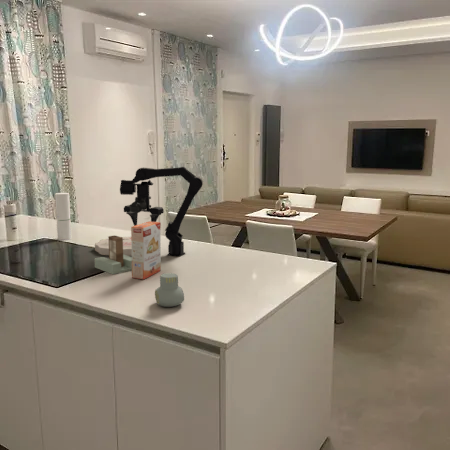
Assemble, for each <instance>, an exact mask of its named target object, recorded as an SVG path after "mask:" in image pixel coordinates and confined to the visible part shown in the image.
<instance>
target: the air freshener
mask: <svg viewBox="0 0 450 450" xmlns="http://www.w3.org/2000/svg"><path fill="white" fill-rule="evenodd" d="M159 283H160V284H159V285H160V286H159V287H158V288H156V289H155V291H154V298H155V302H156V303H157V305H158V306H160V307H165V308H173V307H177V306H179V305H181V304H182V303H184V301H185V292H184V290H183V288H182V287H181V286H179V275H178V274H177V273H173V272H167V273H165V272H164V273H163V274H161V275H160V276H159Z"/></svg>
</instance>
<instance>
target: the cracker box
mask: <svg viewBox="0 0 450 450" xmlns="http://www.w3.org/2000/svg"><path fill="white" fill-rule="evenodd" d="M161 226H162V225H161V222H159V221H156V222H151V220H150V221H146V222H142V223H140V224H137V225H136V226H134V225H132V226H130V227H131V228H130V231H131V232H130V234H131V235H130V237H131V243H132V256H131V257H132V270H131V278H132V279H138V280H139V279H140V280H145V279H146V280H147V278H149V277H152V276H153V275H155V274H157V273H159V272H160V271H161V262H162V261H161V258H162V257H161V248H162V247H161V244H162V243H161V240H162V239H161V237H162V236H161V233H162V232H161Z"/></svg>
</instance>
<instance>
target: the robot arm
mask: <svg viewBox="0 0 450 450" xmlns="http://www.w3.org/2000/svg"><path fill="white" fill-rule="evenodd" d="M179 176H181V177H182V178H183V179H184V180H185V182H187V183H188V185H189V186H188V187H187V188H188V189H187V191H186V192H187V193H186V195H185V197H184V199H183V201H182V203H181V206H180V207H179V209H178V212H177V214H176V216H175V218H174V220H173V221H171V220H169V221H168V223H167V226H166V228H165V230H164V231H165V233H164V235H165V238H166V239H168V247H167V248H168V253H167V256H174V257H181V256H183V255H186V252H185V249H184V248H185V247H184V246H185V245H184V241H183V238H184V235H183V234H182V233H181V232H180V228H181V227H182V226H181V225H182V222H183V220H184V218H185V216H186V214H187V212H188V210H189V207H190V206H191V204H192V201H193V200H194V198H195V197H196V195H197V194H198V192H199V191H200V190H201V189H202V187H203V185H204V181H203V179H202V178H201V177H200V176H196V175H195V174H194V173H192V172H191V171H190V170H188V169H187V167H185V166H180V167H166V168H152V167H139V168H137V170H136V171H135V176H134V177H133V178H132V180H125V179H122V180H120V187H119V193H120V195H123V196H124V195H126V196H128V195H129V196H133V195H134V194H135V193H136V197H135V198H134V201H133V202H132V203H131V204H128V205H125V206H123V212H124V213H126V215H128V216H129V217H130V219H131V221H132V223H133V226H136V225H138V214H139V213H141V212H145V213H150V214H149V217H150V222H157V220H158V219H159V217H160V216H162V214H164V208H163V207H161V206H153V207H152V205H151V204H150V200H152V196H150V186H153V185H154V183H153V182H152V181H151V180H152V179H155V178H160V177H161V178H164V177H165V178H166V177H179ZM138 182H140V183H138Z"/></svg>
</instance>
